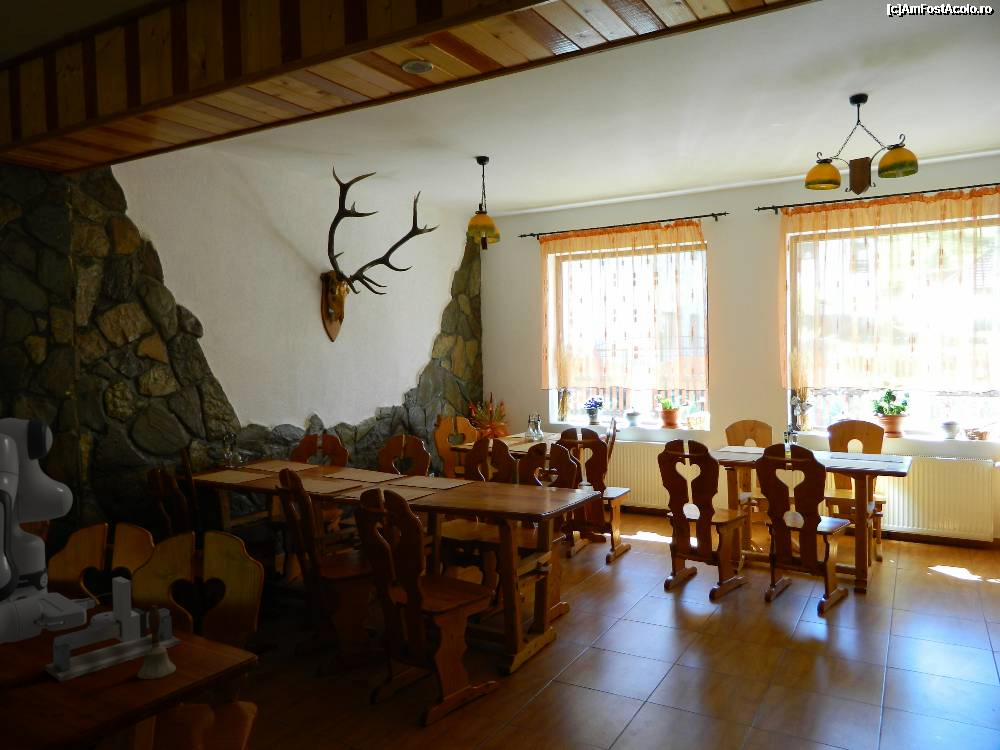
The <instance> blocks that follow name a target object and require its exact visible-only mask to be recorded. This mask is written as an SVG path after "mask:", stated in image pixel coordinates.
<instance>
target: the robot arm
mask: <svg viewBox="0 0 1000 750" xmlns="http://www.w3.org/2000/svg"><path fill="white" fill-rule="evenodd" d="M53 440H54V439H53V434H52V430H51V429H50V425H49V424H48V423H46V422H45V421H44V420H40V419H35V418H32V419H31V418H30V419H19V418H16V417H5V418H1V419H0V644H3V643H14V642H15V643H16V642H19V641H23V640H26V639H30V638H33V637H37V636H39V635H40V634H41V633H42V631H43V629H46V630H47V631H49V632H57V631H63V630H68V629H72V628H77V627H80V626H83V625H85V624H86V623H87V619H88V618H87V615H88V614H87V610H89V609H93V608H95V606H96V601H95V600H94V599H92V598H91V597H87V598H81V599H80V598H78V599H69V598H67V597H65V596H64V595H62V594H60V593H59V592H48V580H49V579H48V578H49V577H48V567H47V566H46V554H45V553H46V550H45V549H46V548H45V546H46V545H45V542H44V540H43V539H42V538H41V537H39V536H38V535H36V534H33V533H30V532H27V531H24V530H23V529H22V528H21V526H20V524H22V523H24V524H25V523H33V522H43V521H44V522H45V521H50V520H53V519H58V518H62V517H65V516H66V515H67V514H68V512H70V511H71V508H72V505H73V501H74V498H73V493H72V491H71V489H70V488H69V486H68V485H66V484H65V483H63V482H59V481H57V480H55V479H52V478H51V477H49V476H48V475H47V474H46V473H44V471H43V470H42V469H41V467H40V464H39V459H43V458H45V457H46V456H47V455H48V454H49V453H50V449H51V448H52V445H53Z"/></svg>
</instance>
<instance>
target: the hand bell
mask: <svg viewBox="0 0 1000 750" xmlns="http://www.w3.org/2000/svg"><path fill="white" fill-rule="evenodd" d="M148 612H149V617H148V621H149V629H150V632H151V633H150V634H152V647H151V648H150V649H148V650H147V651H146V655H145V656H144V662H143V664H142V667H141V669H139V670H138V672H137V678H138V679H140V680H145V679H151V680H157V678H158V679H162V678H164V677H168V676H169V674H170V675H171V674H173V673H174V672H176V669H177V667H176V664H174V663H173V662H172V661H171V660H170V658H169V655H168V651H167V649H166V648H165V647H164V646H160V641H159V627H160V613H159V610H158V606H157V604H153V605H151V606H150V609H149V611H148ZM167 675H168V676H167Z"/></svg>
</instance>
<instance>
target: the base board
mask: <svg viewBox="0 0 1000 750" xmlns="http://www.w3.org/2000/svg"><path fill="white" fill-rule="evenodd" d="M159 641H160V646H164V647H165V648H168V649H170V647H171V648H173V646H174V647H176V646H175V645H177V646H179V645H178V644H180V645H181V639H179V638H177V637H175V636H173V635H172V639H170V640H166V641H163V640H161V639H160V638H159ZM151 647H152V633H150V634H147V636H146V637H142V638H139V639H135V640H132V641H129V642H125V643H123V642H120V643H116V644H114V645H110V646H106V647H103V648H100V649H96V650H94V651H93V650H92V651H89V652H86V653H82V654H78V655H76V656H72V657H70V665H71V670H67V671H64V672H60V671H59V670H58V669H56V668H55V667H54V662H52V663H49V664H45V671H46V672H48V673H49V674H50V675H51V676H52V677H54V678H55V679H56V680H57V681H58V682H60V683H61V682H65V681H68V680H72V679H74V677H75V678H77V676H78V677H80V675H81V676H84V675H87V674H90V672H91V673H94V672H97V671H99V670H103V668H104V669H106V668H110V667H113V666H115V665H119V664H122V663H125V661H126V662H129V661H132V660H135V658H136V659H139V658H142V657H145V656H146V651H147V650H148V649H150V648H151ZM141 656H142V657H141ZM138 657H139V658H138ZM128 660H129V661H128ZM93 671H94V672H93ZM86 673H87V674H86ZM83 674H84V675H83Z"/></svg>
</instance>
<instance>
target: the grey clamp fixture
mask: <svg viewBox="0 0 1000 750" xmlns="http://www.w3.org/2000/svg"><path fill="white" fill-rule="evenodd" d="M158 610H159V613H160V627H159V638H160V639H161V640H163V641H166V640H170V639H172V636H173V631H172V629H173V628H172V627H173V626H172V625H173V624H172V616H171V615H170V614H171V613H170V609H167V608H165V607H162V608H159V609H158ZM149 612H150V611H147V612H146V624H147V629H150V627H149V621H148V617H149ZM86 628H87V627H86ZM86 628H84V629H80V630H77V631H74V632H69V633H65V634H62V635H58V636H55V637H54V641H53V643H52V650H53V663H54V667H55V668H56V669H58V670H59V671H60V672H64V671H67V670H71V665H70V658H71V651H72V650H74V649H75V650H76V649H79V648H82V647H85V646H91V645H93V644H96V643H99V642H103V641H107V640H110V639H114V638H115V637H118V636H121V635H122V622H120V621H119V620H117V621H113V622H110V623H106V624H102V625H99V626H95V627H91V628H87V629H86Z"/></svg>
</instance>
